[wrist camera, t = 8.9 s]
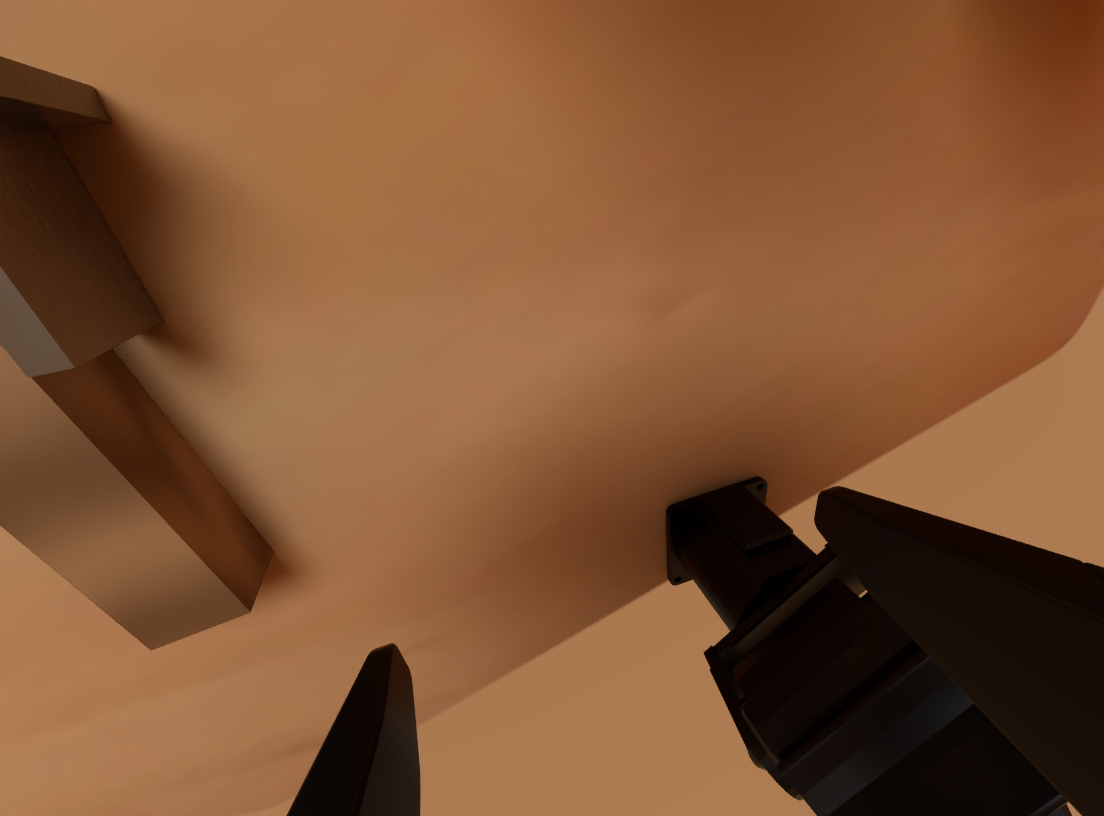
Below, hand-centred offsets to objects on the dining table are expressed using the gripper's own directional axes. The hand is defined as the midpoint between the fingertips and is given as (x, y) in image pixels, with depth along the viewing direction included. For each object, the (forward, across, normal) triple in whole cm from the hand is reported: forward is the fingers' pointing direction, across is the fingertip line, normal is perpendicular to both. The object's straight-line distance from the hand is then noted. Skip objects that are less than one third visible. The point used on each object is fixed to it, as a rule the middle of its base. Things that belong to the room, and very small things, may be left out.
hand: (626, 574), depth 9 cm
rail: (+12, +15, -2) cm, 19 cm away
